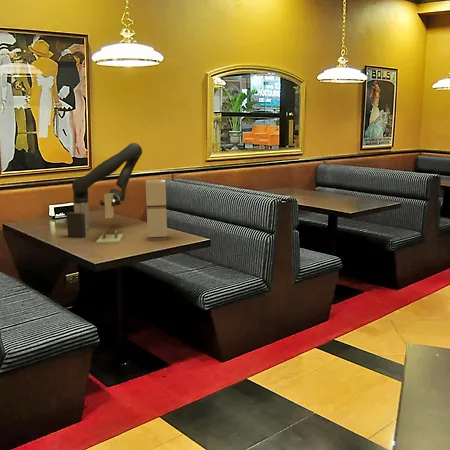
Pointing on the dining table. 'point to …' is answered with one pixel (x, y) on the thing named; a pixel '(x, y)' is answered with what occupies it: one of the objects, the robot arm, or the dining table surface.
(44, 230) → the dining table surface
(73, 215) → the dark brown upright block
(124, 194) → the robot arm
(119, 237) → the pin tray
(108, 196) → the block
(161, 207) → the beige rectangular tower
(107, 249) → the dining table surface
